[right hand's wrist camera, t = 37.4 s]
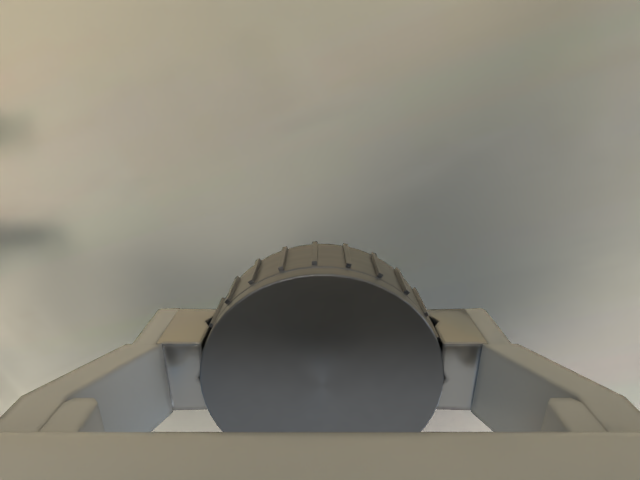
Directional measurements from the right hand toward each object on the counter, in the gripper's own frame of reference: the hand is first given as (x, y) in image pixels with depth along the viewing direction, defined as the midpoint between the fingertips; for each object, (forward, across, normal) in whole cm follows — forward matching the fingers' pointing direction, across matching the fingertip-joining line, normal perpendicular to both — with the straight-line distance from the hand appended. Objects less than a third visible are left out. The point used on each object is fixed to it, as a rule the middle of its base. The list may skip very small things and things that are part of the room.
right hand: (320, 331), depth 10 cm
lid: (-2, 0, 0) cm, 2 cm away
